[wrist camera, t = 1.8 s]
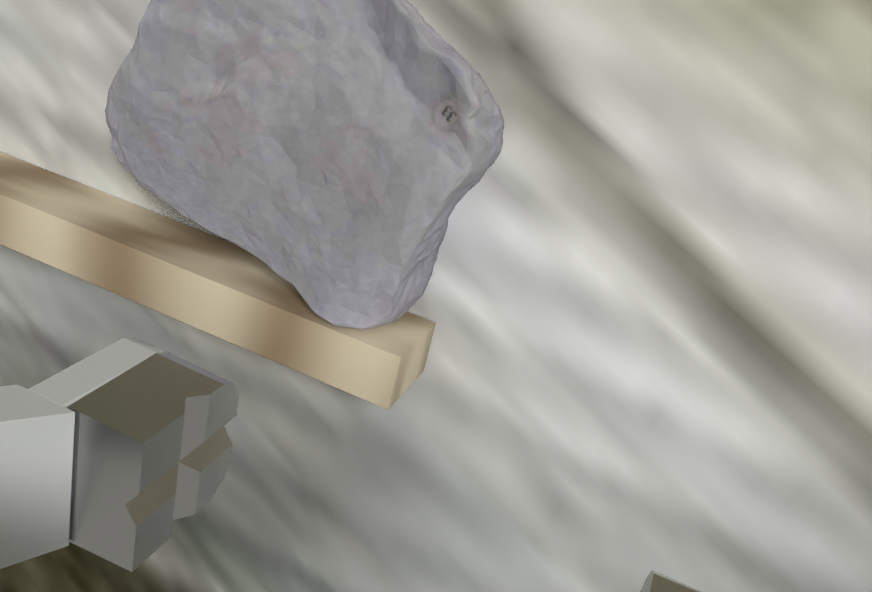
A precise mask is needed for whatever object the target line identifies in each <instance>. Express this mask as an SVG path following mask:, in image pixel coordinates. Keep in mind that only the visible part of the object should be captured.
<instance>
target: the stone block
mask: <svg viewBox="0 0 872 592" xmlns="http://www.w3.org/2000/svg"><path fill="white" fill-rule="evenodd" d="M105 113H106V121H107V124H108V127H109V129H110V132H111V135H112V140H111V142H110V144H111V148H112V150H113V151H114V152H115V153H116V156H117V159H118V161H119V162H120V163H121V164H122V165H123V166H124V167H125V169H126V170H127V171H129V172H130V173H131V174H132V175H133V176H134V177H135V178H136V179H137V181H138V184H140V185H141V186H142V187H144V188H145V189H146V190H148V191H149V192H150V193H152V194H153V195H155V196H156V197H157V198H158V199H160V200H161V201H163V202H164V203H166V204H168V205H169V206H171V207H173V208H174V209H176V210H177V211H178V212H179V213H180V214H181V215H183V216H185V217H187V218H188V219H190V220H192V221H194V222H195V223H197V224H199V225H200V226H202V227H203V228H205V229H207V230H208V231H210V232H212V233H213V234H216V235H218V236H220V237H222V238H224V239H226V240H228V241H230V242H232V243H234V244H236V245H238V246H239V247H241V248H243V249H245V250H246V251H248V252H250V253H251V254H253V255H254V256H256V257H257V258H259V259H260V260H262V261H263V262H265V263H266V264H267V265H268V266H269V267H270V268H271V269H272V270H273V271H274V272H275V273H276V274H277V275H279V276H280V277H281V278H283V279H284V280H286V281H288V282H289V283H291V284H293V285H294V287H295V288H296V290H297V291H298V292H299V293H300V295H301V296H302V297H303V298H304V300H305V301H306V303H307V304H308V305H309V307H310V308H311V310H312V311H314V312H315V313H316V314H317V315H318V316H320V317H321V318H323V319H325V320H327V321H328V322H330V323H331V324H333V325H335V326H340V327H347V328H354V329H360V330H365V329H370V328H375V327H378V326H382V325H385V324H389V323H394V322H396V321H398V320H399V319H400V318H401V317H402V316H403V315H404V314H405V313H406V312H407V311H408V310H409V308H410V307H411V306H412V305H413V304H414V303H415V301H416V300H417V299H419V298H420V297H421V296H422V295H423V293H424V291H425V289H426V286H427V284H428V282H429V279H430V277H431V274H432V270H433V265H434V263H435V262H436V260H437V255H438V251H439V247H440V245H441V243H442V241H443V238H444V236H445V233H446V230H447V227H448V218H449V216H450V214H451V212H452V211H453V209H454V207H455V205H456V204H457V203H458V202H459V201H460V200H461V199H462V197H463V196H464V195H465V194H466V193H467V192H468V191H469V190H470V189H471V188H473V187H474V186H475V185H476V184H477V183H478V182H479V181H480V179H481V178H482V176H483V175H484V173H485V172H486V170H487V169H488V168H489V167H490V166H491V165H492V164H493V163H494V161H495V160H496V158H497V157H498V155H499V154H500V151H501V148H502V144H503V137H502V136H503V129H504V121H503V117H502V114H501V111H500V108H499V106H498V104H497V103H496V102H495V101H494V99H493V97H492V95H491V93H490V91H489V89H488V87H487V85H486V83H485V82H484V80H483V79H482V77H481V76H480V74H479V73H477V72H476V71H475V70H474V69H473V67H472V66H471V65H470V64H469V63H468V62H467V61H466V60H465V59H464V58H463V57H462V56H461V55H460V54H459V53H458V52H457V51H455V49H454V48H453V47H452V46H451V45H449V44H448V43H447V42H446V41H445V40H444V39H443V38H442V37H441V36H440V35H439V34H438V33H437V32H436V31H435V30H434V29H433V28H432V27H431V26H429V25H428V24H427V23H426V22H425V21H424V19H423V17H422V16H421V15H420V14H419V12H418V11H417V9H416V8H415V7H414V6H413V5H412V4H411V3H410V2H409V1H408V0H151V2H150V4H149V6H148V8H147V11H146V13H145V15H144V16H143V18H142V20H141V21H140V23H139V28H138V34H137V38H136V40H135V43H134V46H133V49H132V50H131V51H130V53H129V54H128V56H127V57H126V59H125V60H124V61H123V63H122V64H121V66H120V68H119V70H118V72H117V73H116V75H115V77H114V79H113V82H112V84H111V86H110V88H109V92H108V98H107V105H106V109H105Z"/></svg>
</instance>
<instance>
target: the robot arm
mask: <svg viewBox="0 0 872 592" xmlns="http://www.w3.org/2000/svg"><path fill="white" fill-rule="evenodd" d="M238 397H239V392H238V390H237V388H236V387H235V385H234V384H233V383H231V382H229V381H227V380H225V379H223V378H220V377H218V376H216V375H214V374H212V373H210V372H208V371H206V370H203V369H201V368H199V367H197V366H195V365H193V364H191V363H189V362H186V361H184V360H182V359H180V358H178V357H176V356H174V355H172V354H170V353H165V352H164V351H162V350H160V349H158V348H156V347H154V346H151V345H149V344H147V343H145V342H143V341H140V340H138V339H136V338H121V339H119V340H118V341H116V342H114V343H112V344H110V345H108V346H107V347H105V348H103V349H101V350H99V351H97V352H95V353H94V354H92V355H90V356H88V357H86V358H84V359H83V360H81V361H79V362H77V363H75V364H73V365H71V366H70V367H68V368H66V369H64V370H62V371H60V372H59V373H57V374H55V375H53V376H51V377H49V378H47V379H46V380H44V381H42V382H40V383H38V384H36V385H35V386H33V387H31V388H29V389H26V388H24V387H22V386H20V385H17V384H16V385H7V386H0V569H2V568H5V567H8V566H11V565H14V564H17V563H20V562H23V561H25V560H28V559H31V558H34V557H37V556H40V555H43V554H46V553H49V552H52V551H55V550H58V549H61V548H64V547H67V546H68V545H69V542H71V543H73V544H75V545H77V546H79V547H81V548H83V549H85V550H88V551H90V552H92V553H94V554H96V555H98V556H100V557H102V558H104V559H106V560H108V561H110V562H112V563H114V564H116V565H118V566H120V567H122V568H125V569H127V570H129V571H131V572H133V571H134V570H135V569H136V568H137V567H138V566H139V565H140V564H141V563H142V562H144V561H145V560H146V559H147V558H148V557H149V556H150V555H151V554H152V553H153V552H155V551H156V550H157V549H158V548H159V547H160V546H161V545H162V544H163V543H164V542H166V541H167V540H168V539H169V538H170V536H171V528H172V520H175V519H179V518H184V517H188V516H192V515H195V514H196V513H197V512H198V511H199V510H200V509H201V508H202V507H203V506H204V505H205V504H206V503H207V502H208V501H209V500H210V499H211V497H212V496H213V494H214V493H215V491H216V490H217V488H218V486H219V485H220V483H221V482H222V480H223V478H224V475H225V472H226V469H227V467H228V464H229V461H230V454H231V448H232V444H231V442H230V439H229V437H228V434H227V432H226V430H225V427H224V425H225V424H226V423H228V422H229V421H230V420H231V419H232V418H234V417H235V416H236V415H237V406H238ZM640 592H701V591H699V590H697V589H694V588H692V587H690V586H687V585H685V584H683V583H681V582H678V581H676V580H674V579H672V578H669V577H667V576H665V575H662V574H660V573H658V572H656V571H653V570H651V572H650V573H649V575H648V577H647V578H646V580H645V582H644V584H643V587H642V589H641V591H640Z"/></svg>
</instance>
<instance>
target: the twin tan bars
mask: <svg viewBox="0 0 872 592" xmlns="http://www.w3.org/2000/svg"><path fill="white" fill-rule="evenodd" d="M0 244H1V245H3V246H6V247H8V248H11V249H13V250H15V251H18V252H20V253H22V254H25V255H27V256H29V257H32V258H34V259H36V260H39V261H41V262H43V263H46V264H48V265H50V266H53V267H55V268H57V269H60V270H62V271H64V272H67V273H69V274H71V275H74V276H76V277H78V278H81V279H83V280H85V281H88V282H90V283H92V284H95V285H97V286H99V287H102V288H104V289H106V290H109V291H111V292H114V293H116V294H118V295H121V296H123V297H125V298H128V299H130V300H132V301H135V302H137V303H139V304H142V305H144V306H146V307H149V308H151V309H153V310H156V311H158V312H160V313H163V314H165V315H167V316H170V317H172V318H174V319H177V320H179V321H181V322H184V323H186V324H188V325H191V326H193V327H195V328H198V329H200V330H202V331H205V332H207V333H210V334H212V335H214V336H217V337H219V338H221V339H224V340H226V341H228V342H231V343H233V344H235V345H238V346H240V347H242V348H245V349H247V350H249V351H252V352H254V353H256V354H259V355H261V356H263V357H266V358H268V359H270V360H273V361H275V362H277V363H280V364H282V365H284V366H287V367H289V368H291V369H294V370H296V371H298V372H301V373H303V374H305V375H308V376H310V377H313V378H315V379H317V380H320V381H322V382H324V383H327V384H329V385H331V386H334V387H336V388H338V389H341V390H343V391H345V392H348V393H350V394H352V395H355V396H357V397H359V398H362V399H364V400H366V401H369V402H371V403H373V404H376V405H378V406H380V407H383V408H385V409H387V410H389V409H390V408H391V406H392V405H393V404H394V403H395V402H396V401H397V400H398V399H399V398H400V396H401V395H402V394H403V393H404V392H405V391H406V390H407V389H408V388H409V386H410V385H411V384H412V383H413V382H414V381H415V380H416V379H417V378H418V376H419V375H420V374H421V373H422V372H423V370H424V366H425V362H426V358H427V354H428V350H429V346H430V343H431V339H432V335H433V331H434V327H435V322H432V321H430V320H427V319H424V318H422V317H419V316H417V315H414V314H412V313H409V312H406V313H405V314H404V315H403V316H402V317H401V318H400V319H399V320H398V321H396V322H394V323H389V324H385V325H382V326H378V327H375V328H370V329H365V330H360V329H354V328H347V327H340V326H335V325H333V324H331V323H330V322H328V321H327V320H325V319H323V318H321V317H320V316H318V315H317V314H316V313H315V312H314V311H312V310H311V308H310V307H309V305H308V304H307V303H306V301H305V300H304V298H303V297H302V296H301V295H300V293H299V292H298V291H297V290H296V288H295V287H294V285H293V284H291V283H289V282H288V281H286V280H284V279H283V278H281V277H280V276H279V275H277V274H276V273H275V272H274V271H273V270H272V269H271V268H270V267H269V266H268V265H267V264H266V263H265V262H263V261H262V260H260V259H259V258H257V257H256V256H254V255H253V254H251V253H250V252H248V251H246V250H245V249H243V248H241V247H239V246H238V245H236V244H233V243H231V242H228V241H226V240H223V239H221V238H218V237H216V236H213V235H211V234H208V233H205V232H203V231H200V230H198V229H195V228H193V227H190V226H188V225H185V224H183V223H180V222H177V221H175V220H172V219H170V218H167V217H165V216H162V215H160V214H157V213H155V212H152V211H149V210H147V209H144V208H142V207H139V206H137V205H134V204H132V203H129V202H127V201H124V200H121V199H119V198H116V197H114V196H111V195H109V194H106V193H104V192H101V191H99V190H96V189H93V188H91V187H88V186H86V185H83V184H81V183H78V182H76V181H73V180H71V179H68V178H65V177H63V176H60V175H58V174H55V173H53V172H50V171H48V170H45V169H43V168H40V167H37V166H35V165H32V164H30V163H27V162H25V161H22V160H20V159H17V158H15V157H12V156H9V155H7V154H4V153H2V152H0Z"/></svg>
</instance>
